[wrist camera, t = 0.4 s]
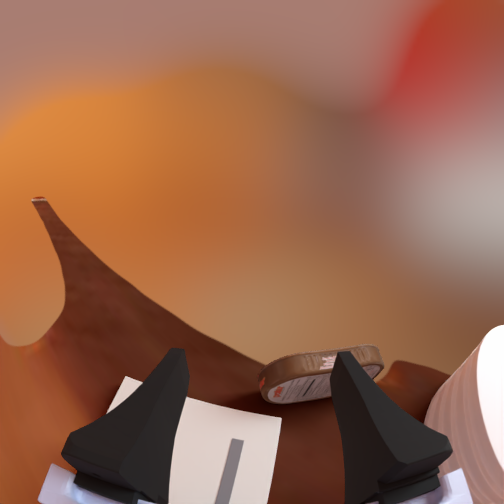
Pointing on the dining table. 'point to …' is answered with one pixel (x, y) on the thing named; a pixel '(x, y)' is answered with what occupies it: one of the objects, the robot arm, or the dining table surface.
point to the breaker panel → (218, 453)
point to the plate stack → (475, 419)
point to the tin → (311, 373)
